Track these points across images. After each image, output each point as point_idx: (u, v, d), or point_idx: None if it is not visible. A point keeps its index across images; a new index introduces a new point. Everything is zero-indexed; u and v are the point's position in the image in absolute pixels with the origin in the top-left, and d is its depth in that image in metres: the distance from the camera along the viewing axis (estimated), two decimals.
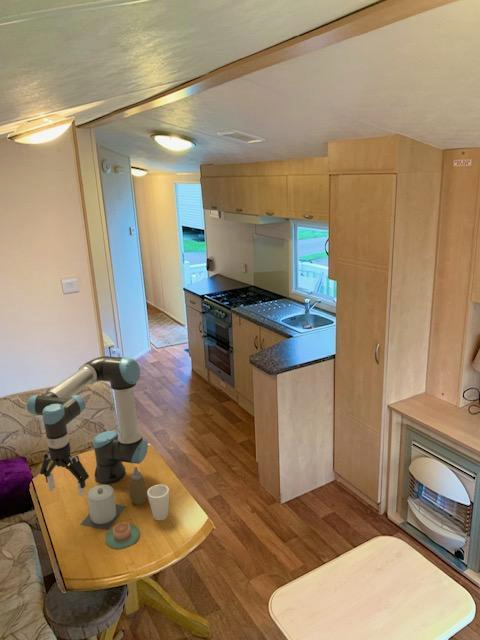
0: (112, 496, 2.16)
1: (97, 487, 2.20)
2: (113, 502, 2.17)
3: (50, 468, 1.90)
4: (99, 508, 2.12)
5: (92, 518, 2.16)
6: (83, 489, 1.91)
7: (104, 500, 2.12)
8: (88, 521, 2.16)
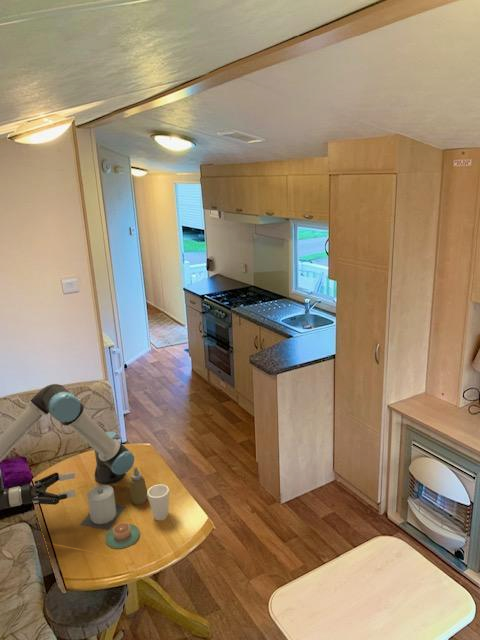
0: (112, 496, 2.16)
1: (97, 487, 2.20)
2: (113, 502, 2.17)
3: None
4: (99, 508, 2.12)
5: (92, 518, 2.16)
6: (70, 493, 2.04)
7: (104, 500, 2.12)
8: (88, 521, 2.16)
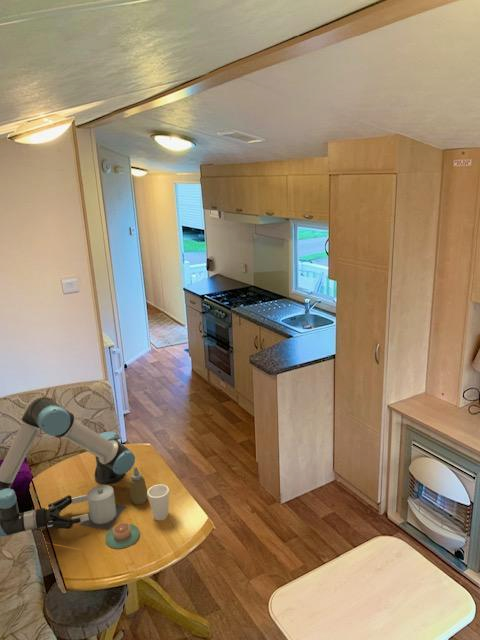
0: (112, 496, 2.16)
1: (97, 487, 2.20)
2: (113, 502, 2.17)
3: None
4: (99, 508, 2.12)
5: (92, 518, 2.16)
6: (83, 517, 2.09)
7: (104, 500, 2.12)
8: (88, 521, 2.16)
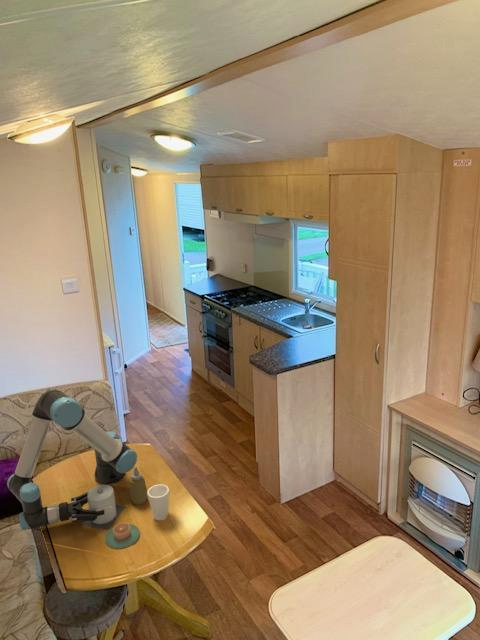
0: (112, 496, 2.16)
1: (97, 487, 2.20)
2: (113, 502, 2.17)
3: None
4: (99, 508, 2.12)
5: None
6: (107, 509, 2.13)
7: (104, 500, 2.12)
8: (88, 521, 2.16)
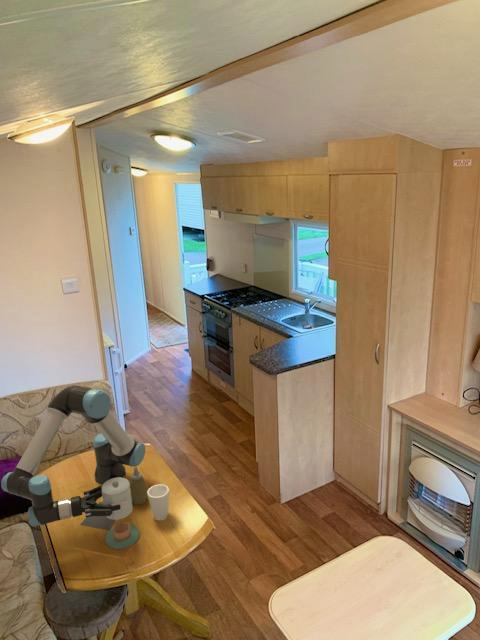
0: (128, 490, 1.99)
1: (112, 480, 2.03)
2: (129, 496, 2.00)
3: None
4: (114, 502, 1.95)
5: None
6: (124, 503, 1.96)
7: (119, 494, 1.95)
8: (88, 521, 2.16)
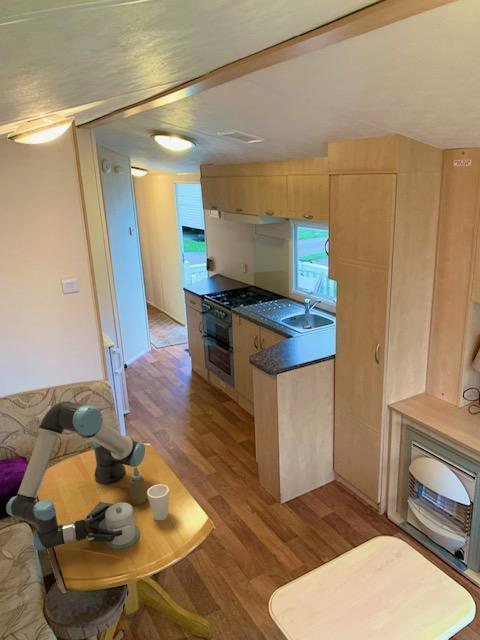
0: (131, 515, 2.02)
1: (115, 505, 2.06)
2: (132, 522, 2.03)
3: None
4: None
5: None
6: (125, 529, 1.98)
7: (123, 520, 1.99)
8: None
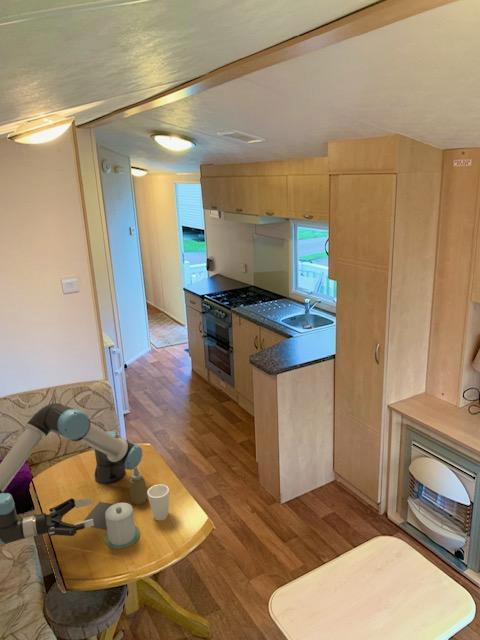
0: (131, 515, 2.02)
1: (115, 505, 2.06)
2: (132, 522, 2.03)
3: None
4: (118, 528, 1.99)
5: (110, 539, 2.02)
6: (88, 522, 1.91)
7: (123, 520, 1.99)
8: None
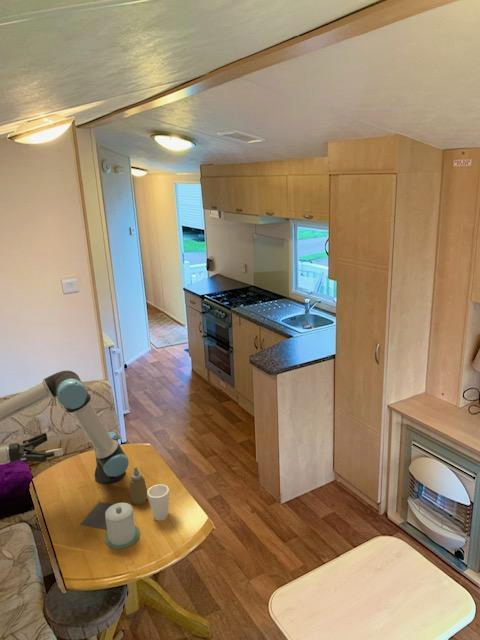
0: (131, 515, 2.02)
1: (115, 505, 2.06)
2: (132, 522, 2.03)
3: None
4: (118, 528, 1.99)
5: (110, 539, 2.02)
6: (57, 451, 2.07)
7: (123, 520, 1.99)
8: (88, 521, 2.16)
